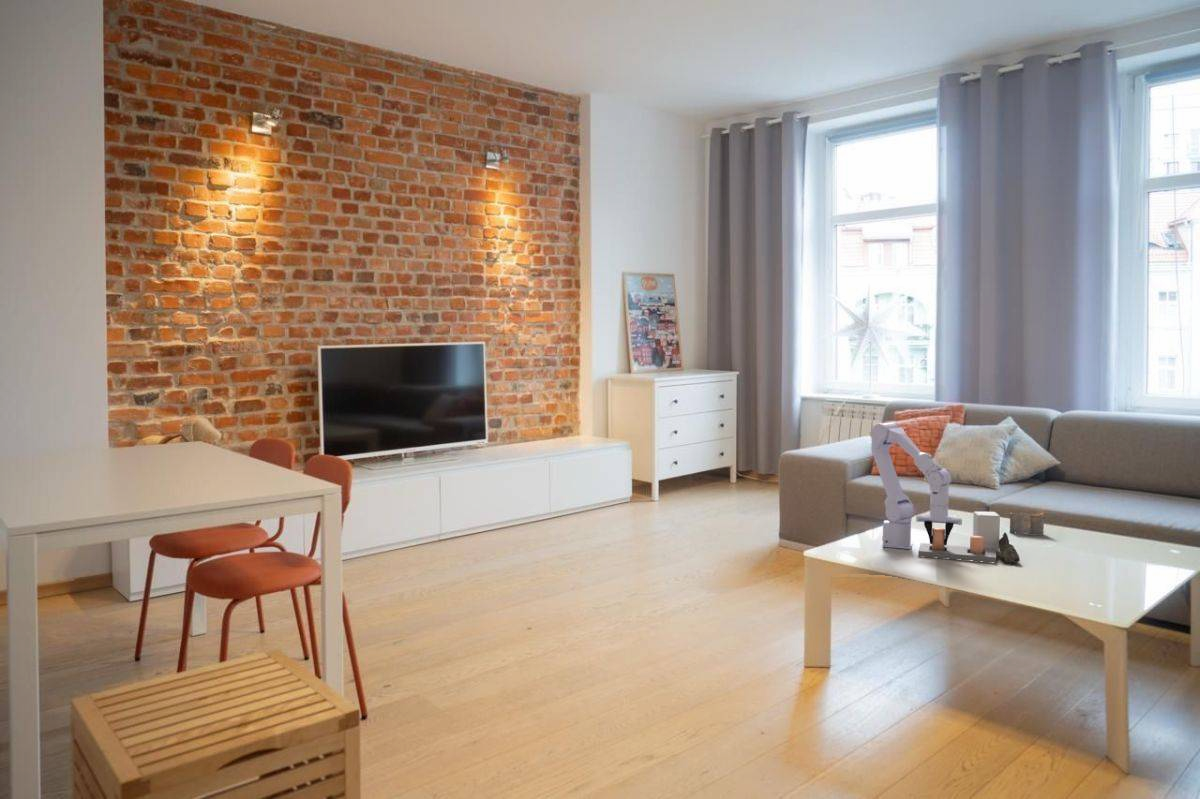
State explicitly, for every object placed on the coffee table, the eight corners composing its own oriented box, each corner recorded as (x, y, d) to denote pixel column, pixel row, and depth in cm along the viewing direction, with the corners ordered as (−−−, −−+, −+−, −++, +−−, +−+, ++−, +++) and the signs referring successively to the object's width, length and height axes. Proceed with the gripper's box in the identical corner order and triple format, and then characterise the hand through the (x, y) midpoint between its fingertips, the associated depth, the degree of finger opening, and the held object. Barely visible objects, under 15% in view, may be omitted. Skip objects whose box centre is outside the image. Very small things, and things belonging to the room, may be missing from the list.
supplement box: (999, 551, 305) (1000, 515, 304) (976, 551, 306) (977, 515, 305) (994, 546, 312) (995, 511, 311) (972, 545, 314) (973, 510, 313)
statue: (1020, 573, 288) (1010, 547, 306) (1024, 558, 286) (1013, 532, 305) (999, 569, 289) (990, 543, 308) (1003, 554, 288) (994, 529, 306)
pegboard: (918, 556, 299) (918, 550, 299) (920, 548, 310) (920, 543, 310) (996, 563, 290) (996, 557, 290) (995, 554, 301) (995, 549, 301)
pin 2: (969, 558, 297) (970, 537, 296) (969, 555, 300) (970, 535, 300) (982, 559, 295) (983, 538, 295) (982, 556, 299) (983, 536, 298)
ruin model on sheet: (1043, 535, 331) (1044, 509, 330) (1043, 536, 328) (1044, 510, 328) (1010, 532, 336) (1010, 506, 335) (1009, 533, 334) (1010, 508, 333)
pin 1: (931, 550, 301) (932, 530, 301) (932, 547, 305) (932, 527, 304) (944, 551, 300) (944, 530, 299) (944, 548, 303) (945, 528, 303)
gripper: (915, 505, 300) (915, 544, 301) (961, 508, 295) (961, 548, 296) (917, 501, 307) (916, 540, 308) (962, 504, 301) (961, 543, 302)
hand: (938, 543), depth 302 cm, fingers closed on pin 1, 4 cm apart
